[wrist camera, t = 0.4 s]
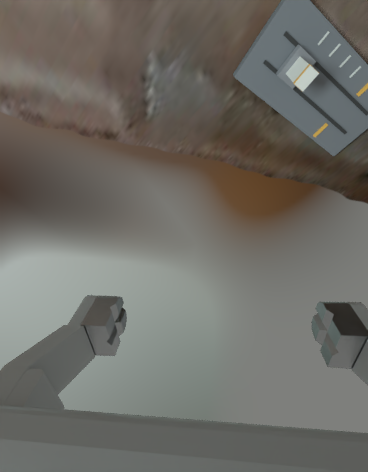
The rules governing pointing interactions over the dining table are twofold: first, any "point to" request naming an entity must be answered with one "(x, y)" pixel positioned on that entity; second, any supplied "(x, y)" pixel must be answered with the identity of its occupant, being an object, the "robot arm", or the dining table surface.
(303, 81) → the fader
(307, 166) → the dining table surface
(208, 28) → the dining table surface
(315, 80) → the console
